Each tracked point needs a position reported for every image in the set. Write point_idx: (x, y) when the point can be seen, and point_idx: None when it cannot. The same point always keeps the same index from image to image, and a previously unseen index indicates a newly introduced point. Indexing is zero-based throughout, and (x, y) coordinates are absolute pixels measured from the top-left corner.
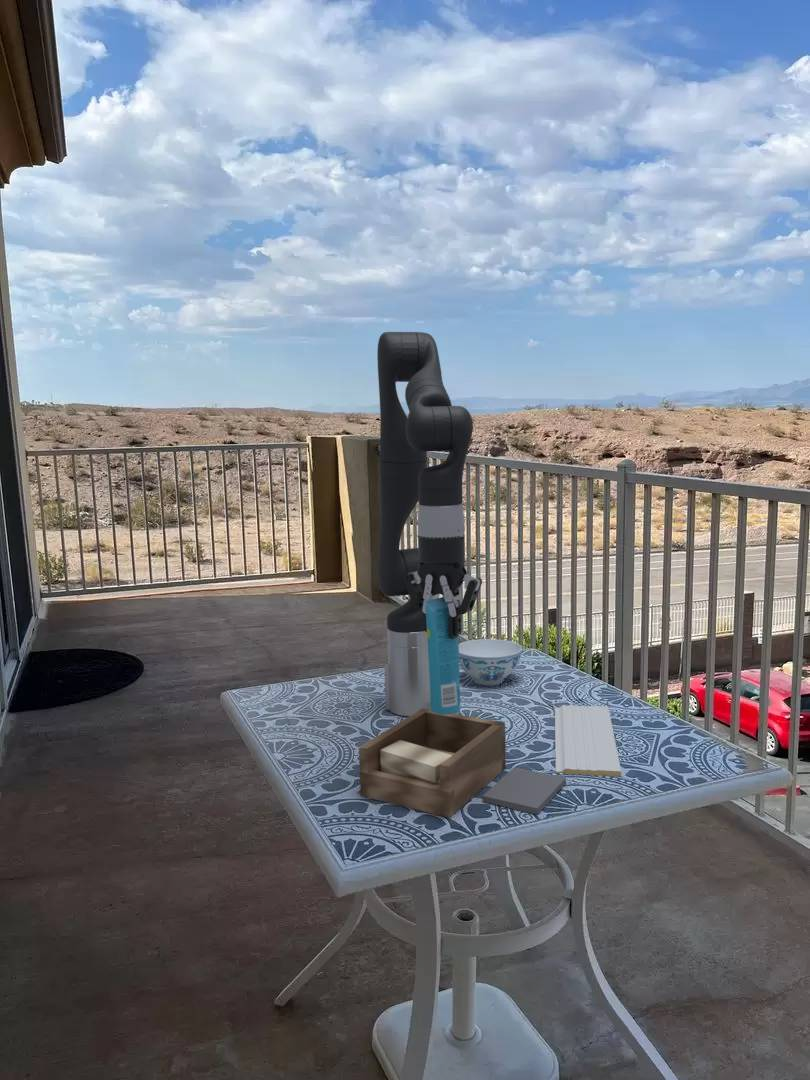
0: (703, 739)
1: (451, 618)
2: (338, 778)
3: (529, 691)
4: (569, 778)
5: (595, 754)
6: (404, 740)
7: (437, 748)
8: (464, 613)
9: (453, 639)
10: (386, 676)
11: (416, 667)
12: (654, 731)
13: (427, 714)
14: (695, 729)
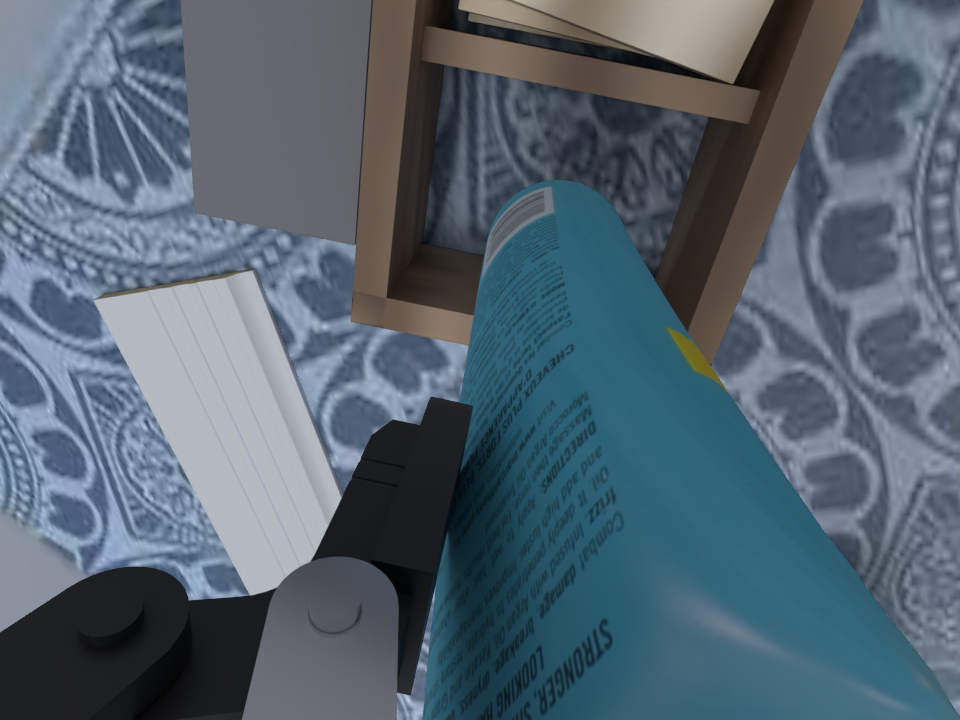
0: (39, 524)
1: (390, 548)
2: (949, 12)
3: None
4: (210, 246)
5: (191, 383)
6: (724, 177)
7: None
8: (109, 573)
9: (464, 451)
10: None
11: None
12: (145, 546)
13: None
14: (76, 567)
